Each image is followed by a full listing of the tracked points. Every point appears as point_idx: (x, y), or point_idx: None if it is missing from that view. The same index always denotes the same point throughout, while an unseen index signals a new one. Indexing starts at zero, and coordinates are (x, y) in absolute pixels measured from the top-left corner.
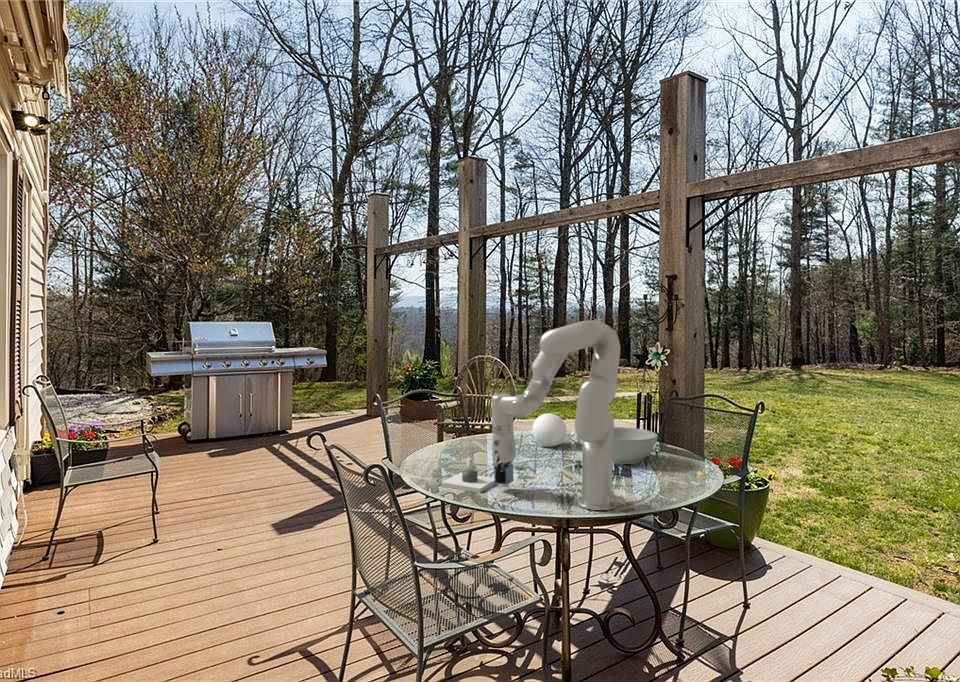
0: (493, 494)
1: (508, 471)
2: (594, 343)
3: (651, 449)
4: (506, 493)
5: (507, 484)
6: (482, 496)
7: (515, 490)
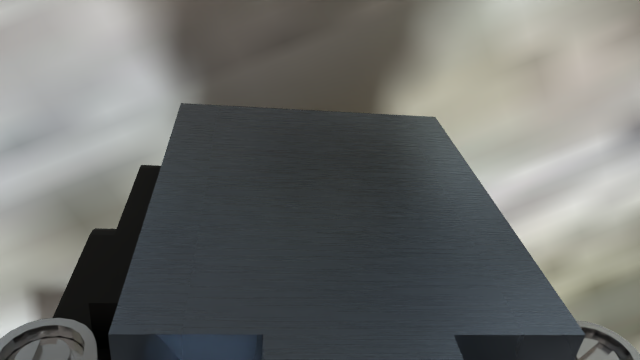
0: (502, 202)
1: (443, 243)
2: None
3: None
4: (413, 79)
5: (430, 118)
6: (599, 269)
7: (228, 13)
